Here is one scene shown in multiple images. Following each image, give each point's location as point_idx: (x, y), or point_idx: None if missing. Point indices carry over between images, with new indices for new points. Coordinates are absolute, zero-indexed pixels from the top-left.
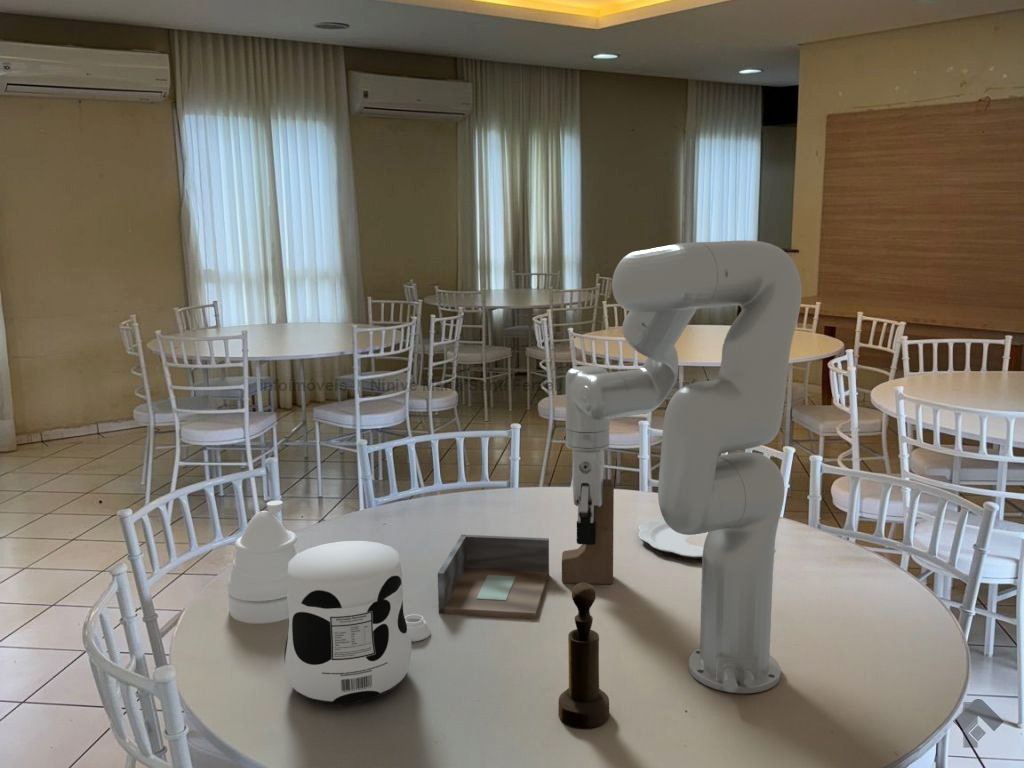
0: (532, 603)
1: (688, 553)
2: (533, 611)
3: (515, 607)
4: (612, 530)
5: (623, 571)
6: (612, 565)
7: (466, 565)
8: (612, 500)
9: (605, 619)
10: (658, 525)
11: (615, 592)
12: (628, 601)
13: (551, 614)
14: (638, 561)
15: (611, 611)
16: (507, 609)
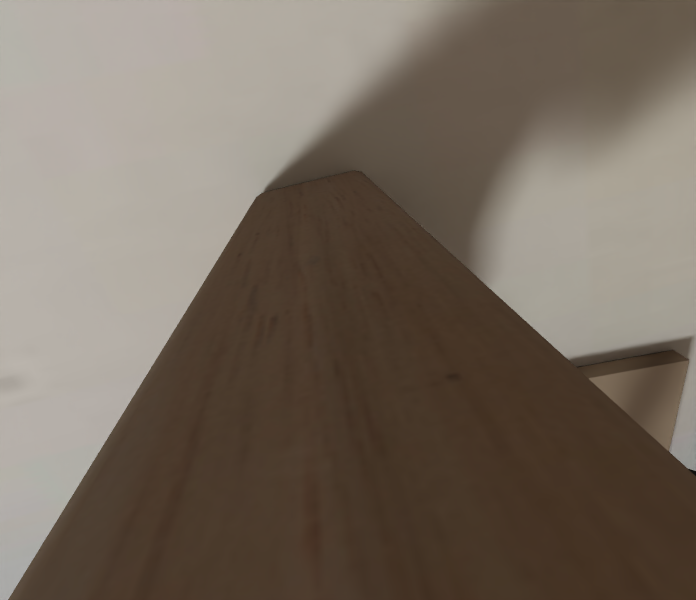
0: (620, 388)
1: None
2: (676, 368)
3: (647, 421)
4: (428, 234)
5: (191, 151)
6: (372, 183)
7: None
8: (660, 449)
9: (687, 127)
10: None
11: (435, 140)
12: (518, 61)
13: (640, 317)
14: (24, 98)
15: (618, 118)
16: (660, 434)
